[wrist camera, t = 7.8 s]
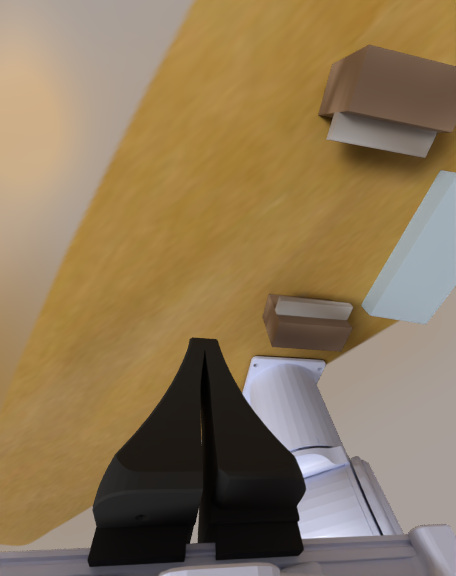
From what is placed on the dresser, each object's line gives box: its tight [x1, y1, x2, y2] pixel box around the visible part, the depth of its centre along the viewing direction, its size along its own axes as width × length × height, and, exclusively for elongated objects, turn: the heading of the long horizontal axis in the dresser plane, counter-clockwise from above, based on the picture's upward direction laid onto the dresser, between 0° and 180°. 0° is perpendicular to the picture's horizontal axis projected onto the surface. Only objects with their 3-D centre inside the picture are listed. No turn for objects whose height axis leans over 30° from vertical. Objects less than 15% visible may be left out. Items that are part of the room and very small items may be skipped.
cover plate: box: [361, 170, 456, 324], centre depth 22 cm, size 12×6×2 cm, turn 167°
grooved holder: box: [263, 45, 456, 351], centre depth 19 cm, size 18×6×4 cm, turn 171°
